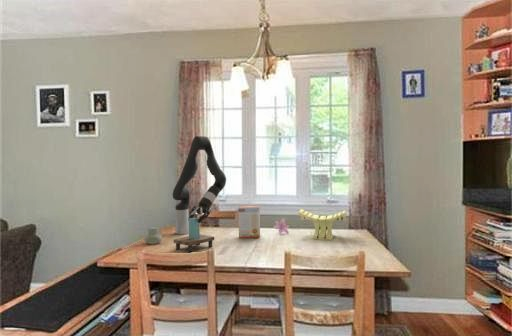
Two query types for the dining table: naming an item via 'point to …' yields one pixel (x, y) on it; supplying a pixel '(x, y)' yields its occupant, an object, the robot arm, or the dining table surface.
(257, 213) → the cracker box
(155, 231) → the air freshener
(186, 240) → the small wooden table
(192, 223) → the teal post
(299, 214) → the slatted curved stool
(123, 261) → the dining table surface
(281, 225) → the lily
